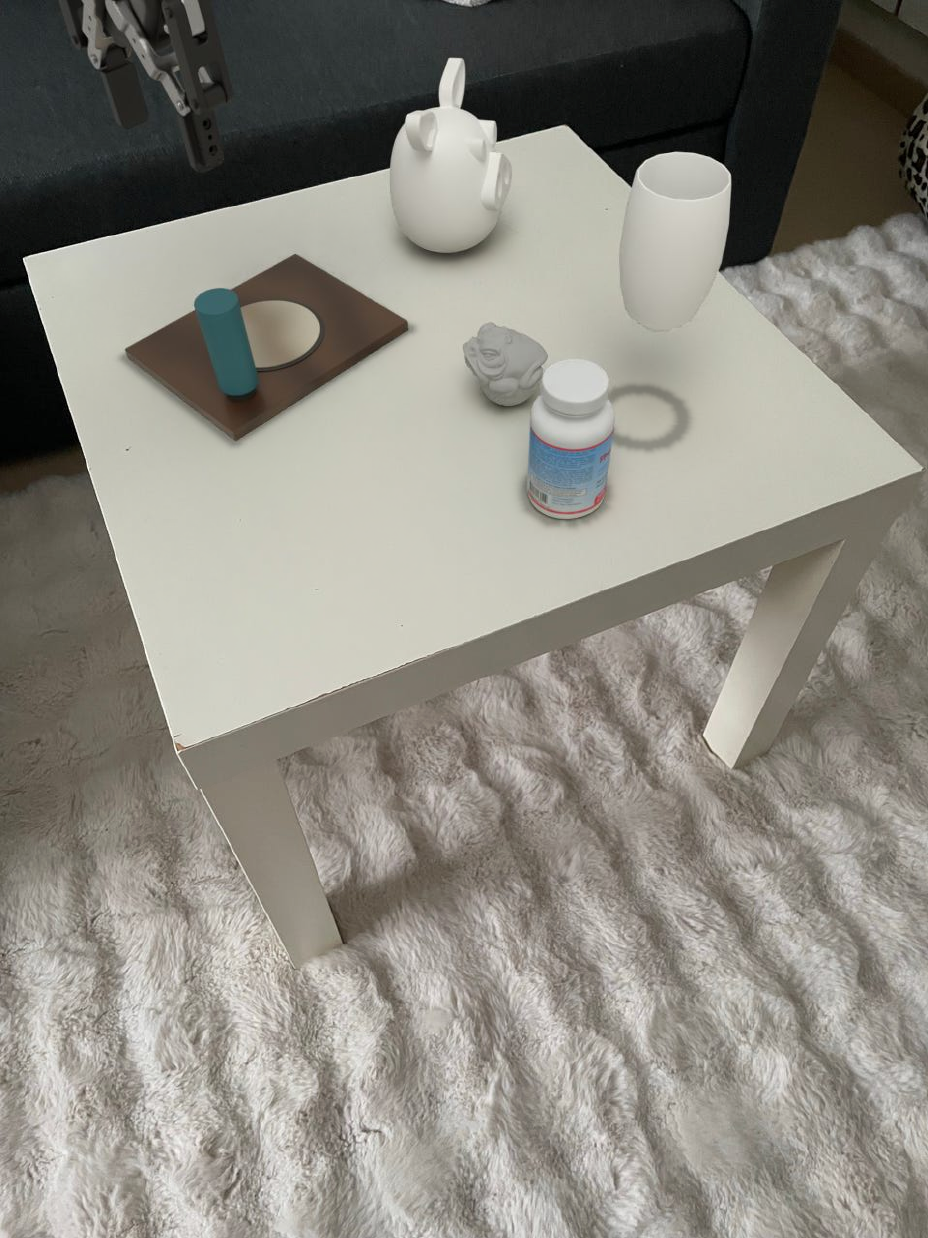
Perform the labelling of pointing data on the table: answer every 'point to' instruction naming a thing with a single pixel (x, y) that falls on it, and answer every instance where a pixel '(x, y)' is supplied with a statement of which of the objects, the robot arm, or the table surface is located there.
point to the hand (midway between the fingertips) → (170, 144)
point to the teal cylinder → (227, 343)
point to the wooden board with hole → (272, 343)
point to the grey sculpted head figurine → (505, 363)
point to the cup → (673, 238)
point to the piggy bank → (448, 172)
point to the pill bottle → (570, 440)
